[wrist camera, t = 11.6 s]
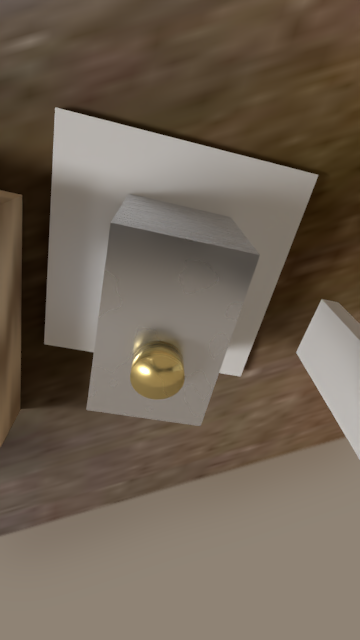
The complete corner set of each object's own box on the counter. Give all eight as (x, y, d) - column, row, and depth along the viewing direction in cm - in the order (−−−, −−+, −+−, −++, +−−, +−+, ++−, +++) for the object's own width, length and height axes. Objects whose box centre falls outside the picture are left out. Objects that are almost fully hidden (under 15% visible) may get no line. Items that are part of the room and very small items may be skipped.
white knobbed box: (128, 193, 16) (105, 230, 10) (230, 216, 17) (267, 265, 11) (107, 336, 20) (81, 427, 14) (191, 350, 20) (202, 444, 14)
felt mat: (59, 108, 15) (55, 107, 14) (313, 173, 16) (318, 174, 16) (47, 338, 20) (44, 344, 20) (238, 370, 22) (240, 376, 21)
